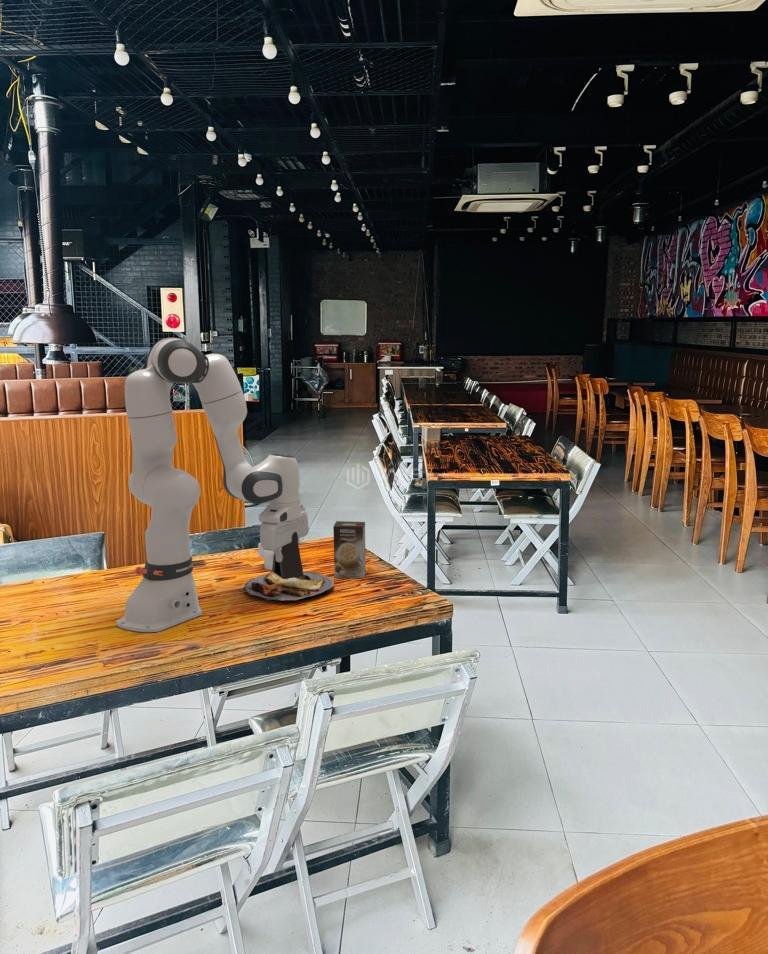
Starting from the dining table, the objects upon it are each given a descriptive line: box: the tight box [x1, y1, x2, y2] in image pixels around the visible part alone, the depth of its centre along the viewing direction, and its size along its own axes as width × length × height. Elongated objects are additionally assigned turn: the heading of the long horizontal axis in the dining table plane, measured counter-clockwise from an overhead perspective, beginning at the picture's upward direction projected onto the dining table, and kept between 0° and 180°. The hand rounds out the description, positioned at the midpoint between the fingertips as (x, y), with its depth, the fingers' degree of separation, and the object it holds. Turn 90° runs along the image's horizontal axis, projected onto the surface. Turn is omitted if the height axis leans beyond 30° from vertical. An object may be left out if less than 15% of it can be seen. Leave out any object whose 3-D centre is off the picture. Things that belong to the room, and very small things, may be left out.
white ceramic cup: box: [257, 542, 274, 571], centre depth 239 cm, size 7×9×9 cm
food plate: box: [243, 570, 335, 601], centre depth 217 cm, size 25×23×4 cm
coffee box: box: [332, 520, 367, 579], centre depth 228 cm, size 9×6×16 cm
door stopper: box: [272, 532, 304, 579], centre depth 215 cm, size 9×6×12 cm, turn 29°
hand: (286, 558), depth 215 cm, fingers closed on door stopper, 6 cm apart
